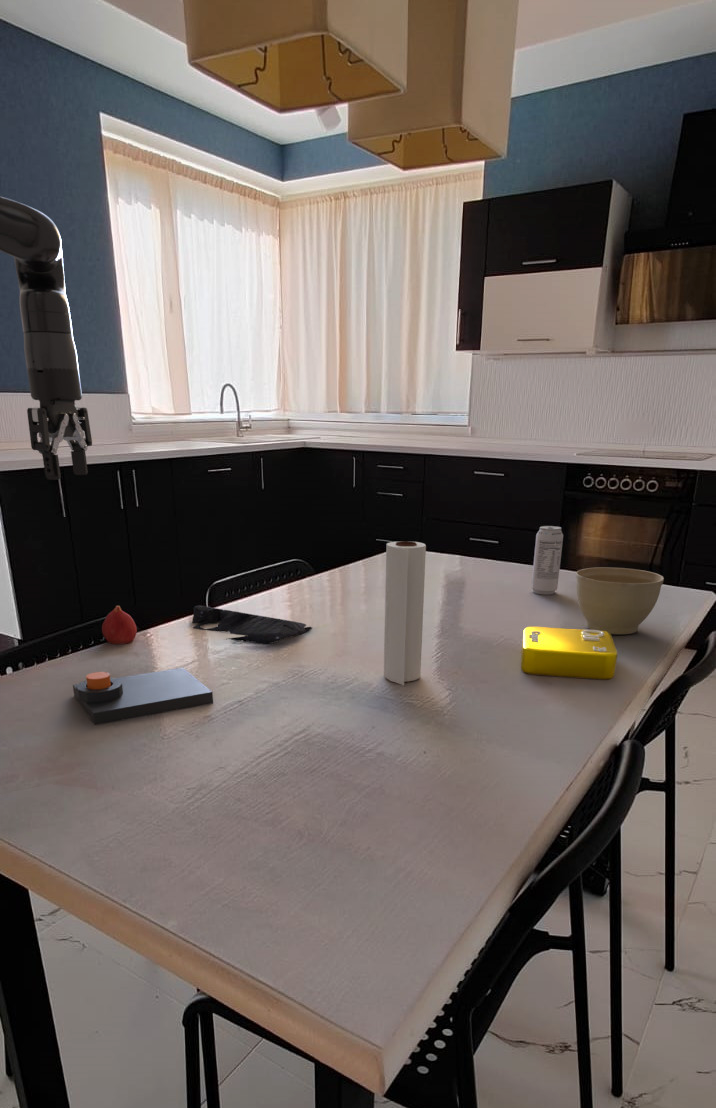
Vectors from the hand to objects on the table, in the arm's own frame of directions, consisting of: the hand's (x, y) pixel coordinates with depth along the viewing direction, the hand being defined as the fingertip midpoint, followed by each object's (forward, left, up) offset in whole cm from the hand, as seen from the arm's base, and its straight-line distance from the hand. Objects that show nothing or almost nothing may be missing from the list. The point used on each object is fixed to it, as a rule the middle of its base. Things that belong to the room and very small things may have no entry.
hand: (67, 477), depth 125 cm
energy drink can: (+104, -4, -30) cm, 108 cm away
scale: (+1, -29, -29) cm, 41 cm away
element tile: (+69, -47, -30) cm, 88 cm away
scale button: (-5, -29, -26) cm, 40 cm away
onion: (+5, -2, -30) cm, 30 cm away
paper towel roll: (+40, -39, -30) cm, 63 cm away
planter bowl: (+93, -35, -30) cm, 104 cm away
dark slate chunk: (+29, -3, -30) cm, 41 cm away
